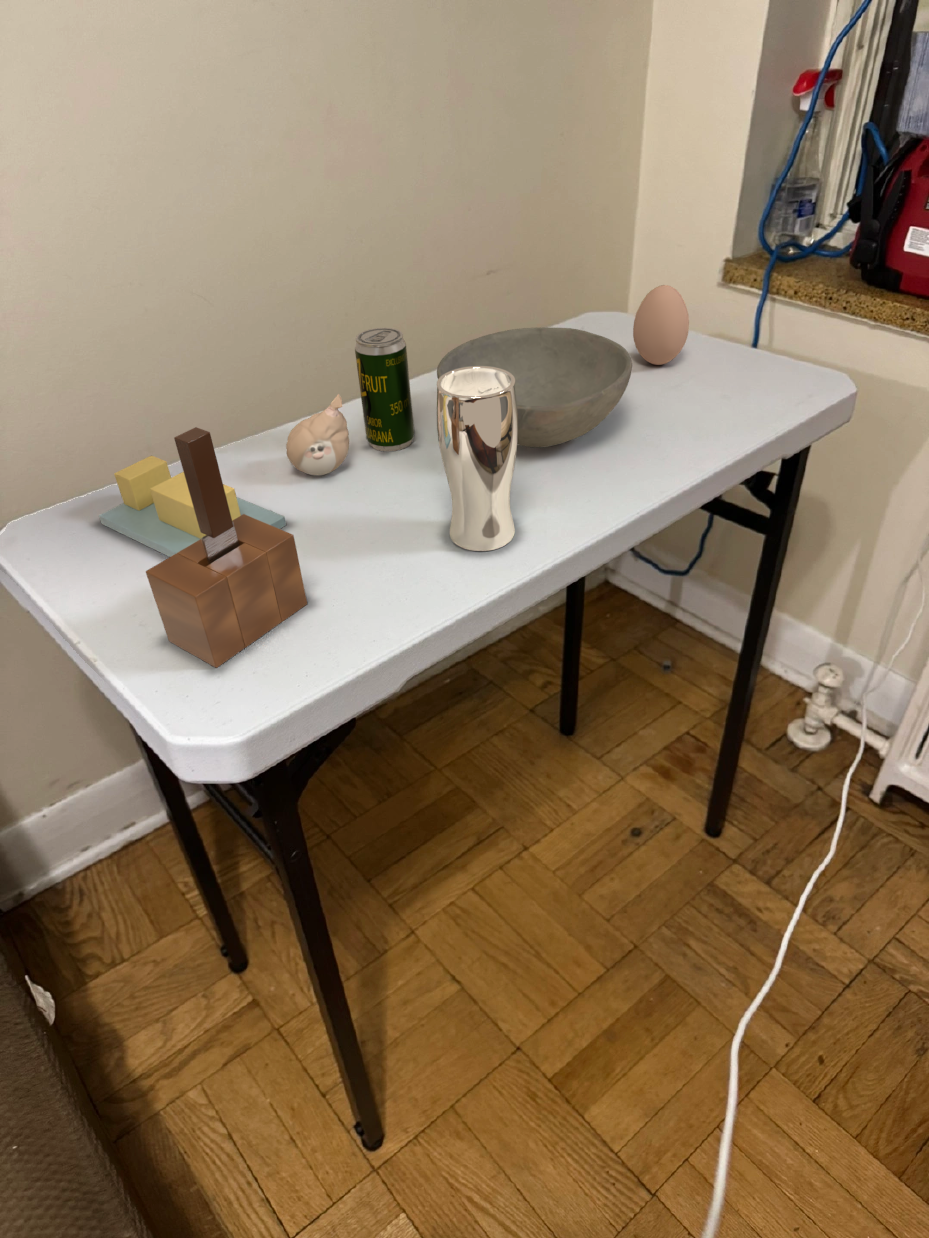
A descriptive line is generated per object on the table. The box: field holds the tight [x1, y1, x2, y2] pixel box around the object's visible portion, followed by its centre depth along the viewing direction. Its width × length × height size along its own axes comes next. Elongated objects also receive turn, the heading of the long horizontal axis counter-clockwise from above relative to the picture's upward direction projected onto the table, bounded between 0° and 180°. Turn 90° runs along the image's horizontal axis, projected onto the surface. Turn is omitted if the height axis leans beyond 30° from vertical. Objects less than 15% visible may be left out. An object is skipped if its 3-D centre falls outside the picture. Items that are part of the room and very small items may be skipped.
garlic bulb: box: [285, 393, 350, 476], centre depth 90 cm, size 7×6×8 cm
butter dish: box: [98, 496, 287, 558], centre depth 85 cm, size 10×16×1 cm, turn 53°
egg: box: [632, 284, 690, 366], centre depth 108 cm, size 7×7×10 cm
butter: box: [150, 471, 241, 539], centre depth 83 cm, size 4×7×4 cm, turn 53°
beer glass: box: [436, 366, 519, 552], centre depth 76 cm, size 7×7×15 cm
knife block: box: [145, 514, 308, 669], centre depth 70 cm, size 10×6×7 cm, turn 143°
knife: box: [173, 426, 239, 565], centre depth 67 cm, size 3×2×17 cm, turn 143°
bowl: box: [436, 327, 633, 448], centre depth 95 cm, size 21×21×8 cm
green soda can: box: [354, 327, 415, 452], centre depth 93 cm, size 5×5×12 cm
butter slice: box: [113, 455, 172, 511], centre depth 86 cm, size 4×2×4 cm, turn 143°
